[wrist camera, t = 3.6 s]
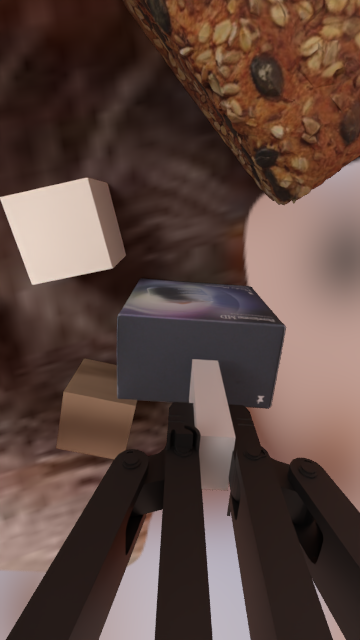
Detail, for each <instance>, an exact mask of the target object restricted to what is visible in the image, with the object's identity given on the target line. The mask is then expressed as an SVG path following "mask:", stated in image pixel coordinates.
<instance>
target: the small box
mask: <svg viewBox="0 0 360 640" xmlns="http://www.w3.org/2000/svg"><path fill="white" fill-rule="evenodd" d="M285 330H286V326H285V325H284V324H283V323H282V322H281V321H280V320H279V319H278V318H277V316H276V315H275V314H274V313H273V312H272V310H270V308H269V307H268V306H267V305H266V304H265V303H264V301H263V300H262V299H261V298H260V297H259V296H258V294H257V293H256V292H255V291H254V290H253V288H252V287H250V286H238V285H223V284H210V283H197V282H184V281H170V280H156V279H143V278H141V279H139V281H138V283H137V285H136V286H135V288H134V290H133V292H132V293H131V295H130V297H129V298H128V300H127V302H126V303H125V305H124V307H123V308H122V310H121V311H120V313H119V314H118V317H117V398H118V399H129V400H144V401H160V402H184V403H189V394H190V382H191V370H192V359H198V360H215V361H218V363H219V368H220V372H221V376H222V381H223V385H224V389H225V394H226V398H227V402H228V404H231V405H244V406H245V407H253V408H254V407H255V408H266V409H267V408H268V409H269V408H270V407H271V406H272V400H273V394H274V389H275V384H276V379H277V373H278V368H279V363H280V358H281V353H282V347H283V342H284V336H285Z"/></svg>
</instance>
